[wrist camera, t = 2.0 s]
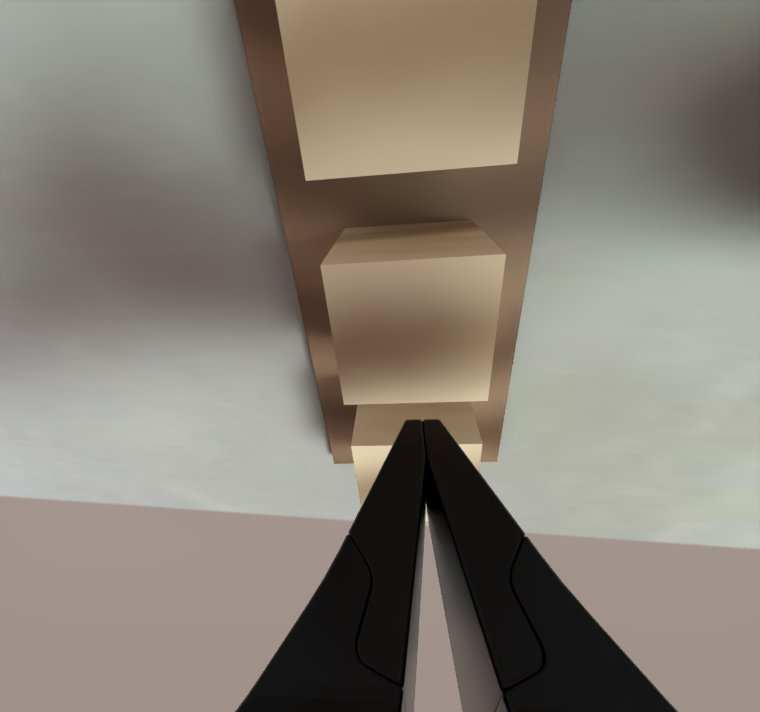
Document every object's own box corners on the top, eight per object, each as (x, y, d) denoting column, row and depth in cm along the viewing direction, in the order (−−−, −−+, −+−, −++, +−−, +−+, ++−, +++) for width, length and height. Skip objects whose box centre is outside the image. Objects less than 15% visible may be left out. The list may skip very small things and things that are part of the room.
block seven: (309, -26, 12) (240, -160, 7) (488, -50, 11) (563, -215, 6) (334, 169, 15) (300, 180, 10) (474, 158, 14) (517, 163, 9)
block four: (360, 372, 21) (347, 446, 15) (461, 369, 20) (482, 443, 15) (369, 441, 24) (361, 521, 19) (456, 439, 23) (472, 521, 18)
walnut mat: (94, -723, 7) (53, -841, 6) (699, -914, 6) (747, -1083, 5) (336, 453, 26) (334, 463, 25) (493, 450, 25) (496, 461, 24)
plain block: (344, 228, 16) (320, 265, 11) (471, 219, 16) (506, 253, 11) (358, 336, 19) (344, 404, 14) (463, 332, 19) (487, 400, 14)
